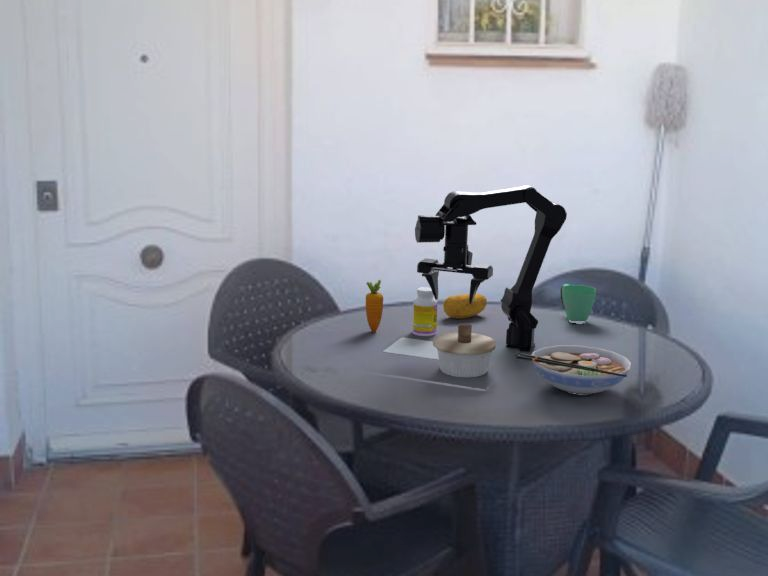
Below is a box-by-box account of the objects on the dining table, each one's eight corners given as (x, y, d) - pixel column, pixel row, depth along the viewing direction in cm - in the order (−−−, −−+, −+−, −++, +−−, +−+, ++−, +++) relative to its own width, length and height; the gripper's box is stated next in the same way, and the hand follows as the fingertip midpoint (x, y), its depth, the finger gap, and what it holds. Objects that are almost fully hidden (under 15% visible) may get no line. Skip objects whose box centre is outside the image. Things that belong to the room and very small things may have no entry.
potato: (491, 317, 273) (493, 294, 271) (450, 323, 266) (451, 299, 265) (478, 312, 279) (479, 289, 278) (437, 317, 273) (438, 293, 271)
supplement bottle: (436, 338, 251) (438, 292, 248) (412, 337, 251) (413, 291, 248) (435, 331, 258) (437, 286, 255) (412, 330, 258) (413, 285, 255)
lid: (504, 341, 226) (505, 322, 225) (482, 358, 213) (483, 337, 212) (447, 333, 232) (448, 313, 231) (423, 348, 219) (423, 328, 218)
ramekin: (446, 383, 217) (447, 354, 215) (428, 365, 229) (429, 338, 227) (499, 379, 220) (500, 351, 218) (479, 362, 232) (480, 335, 231)
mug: (600, 325, 267) (603, 292, 265) (570, 327, 265) (572, 293, 262) (575, 312, 281) (578, 280, 279) (546, 314, 278) (548, 282, 276)
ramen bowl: (645, 386, 217) (649, 353, 215) (616, 416, 198) (620, 380, 196) (545, 367, 229) (547, 335, 227) (508, 393, 210) (510, 359, 208)
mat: (465, 347, 243) (465, 346, 243) (449, 363, 231) (449, 361, 231) (401, 339, 250) (401, 337, 250) (382, 353, 237) (382, 351, 237)
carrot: (362, 334, 253) (363, 281, 249) (367, 329, 258) (368, 277, 254) (380, 336, 252) (381, 282, 248) (384, 331, 256) (385, 278, 253)
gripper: (499, 240, 239) (496, 298, 243) (431, 233, 245) (429, 290, 249) (488, 247, 229) (485, 308, 232) (417, 240, 235) (415, 300, 239)
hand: (453, 301), depth 238 cm, fingers open, 9 cm apart
